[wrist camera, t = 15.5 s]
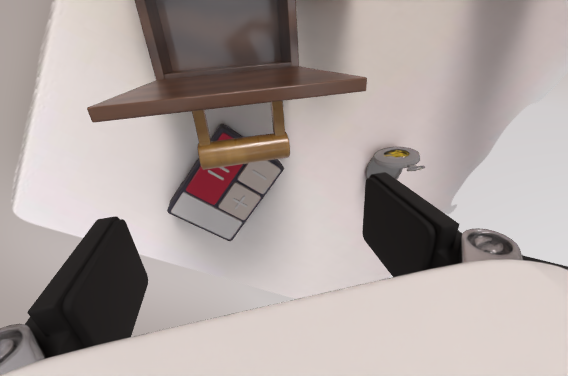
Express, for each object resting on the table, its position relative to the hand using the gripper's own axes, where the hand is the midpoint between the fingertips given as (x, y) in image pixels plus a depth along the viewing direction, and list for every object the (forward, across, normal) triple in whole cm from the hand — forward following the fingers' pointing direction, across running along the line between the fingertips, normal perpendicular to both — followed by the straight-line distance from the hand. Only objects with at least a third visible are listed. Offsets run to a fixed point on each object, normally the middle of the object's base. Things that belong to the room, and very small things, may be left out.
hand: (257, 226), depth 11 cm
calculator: (+32, +3, +12) cm, 34 cm away
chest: (+31, 0, -12) cm, 34 cm away
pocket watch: (+32, -24, +12) cm, 42 cm away
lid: (+16, 0, -4) cm, 16 cm away
